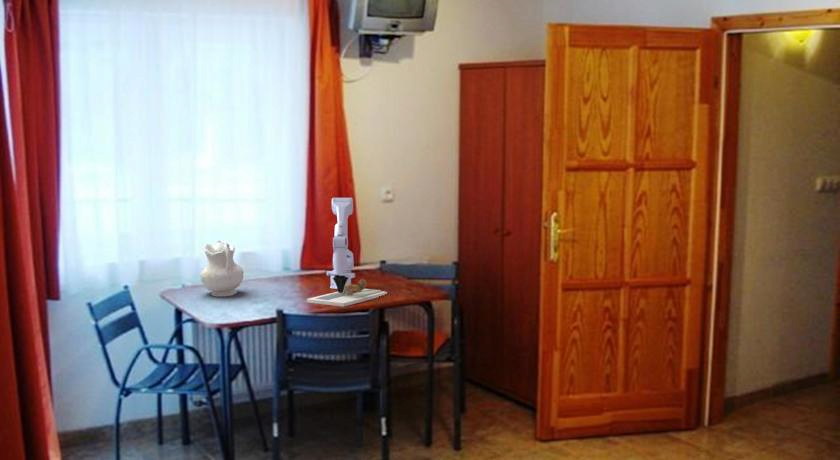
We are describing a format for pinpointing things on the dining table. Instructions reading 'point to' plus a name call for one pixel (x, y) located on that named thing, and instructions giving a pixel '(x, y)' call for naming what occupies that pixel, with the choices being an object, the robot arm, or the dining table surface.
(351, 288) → the lion figurine
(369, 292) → the shutter
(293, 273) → the dining table surface
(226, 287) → the ceramic pitcher
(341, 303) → the puzzle board
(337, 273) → the robot arm
